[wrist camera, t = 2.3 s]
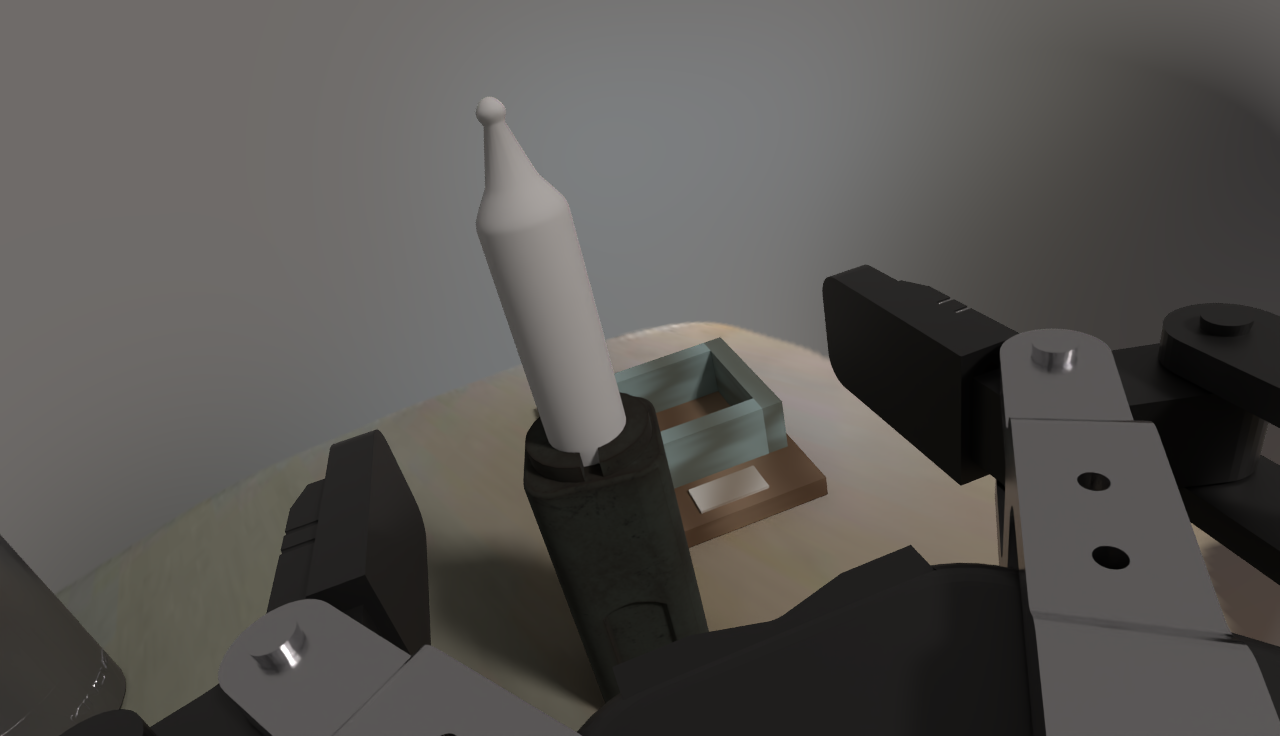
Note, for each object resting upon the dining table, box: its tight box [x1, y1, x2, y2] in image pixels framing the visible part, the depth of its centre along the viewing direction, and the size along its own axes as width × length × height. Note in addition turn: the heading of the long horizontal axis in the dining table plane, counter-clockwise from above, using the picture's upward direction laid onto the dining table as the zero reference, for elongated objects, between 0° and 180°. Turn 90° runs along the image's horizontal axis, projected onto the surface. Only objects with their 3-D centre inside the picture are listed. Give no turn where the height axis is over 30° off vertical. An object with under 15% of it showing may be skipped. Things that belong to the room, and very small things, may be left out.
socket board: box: [614, 337, 828, 548], centre depth 45 cm, size 13×18×4 cm
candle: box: [476, 97, 709, 703], centre depth 27 cm, size 5×5×25 cm
